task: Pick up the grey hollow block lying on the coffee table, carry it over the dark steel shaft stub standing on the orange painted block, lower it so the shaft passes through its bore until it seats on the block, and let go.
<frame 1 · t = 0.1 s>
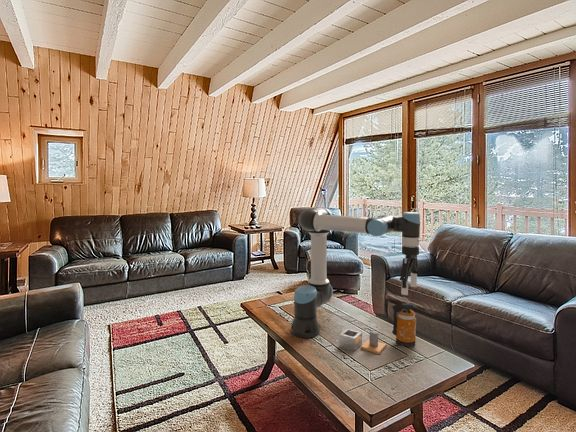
hand: (409, 290, 161), 28 cm above the table, fingers open, 13 cm apart
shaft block: (373, 347, 164), on the table
grey hollow block: (350, 345, 166), on the table
canister: (403, 343, 169), on the table
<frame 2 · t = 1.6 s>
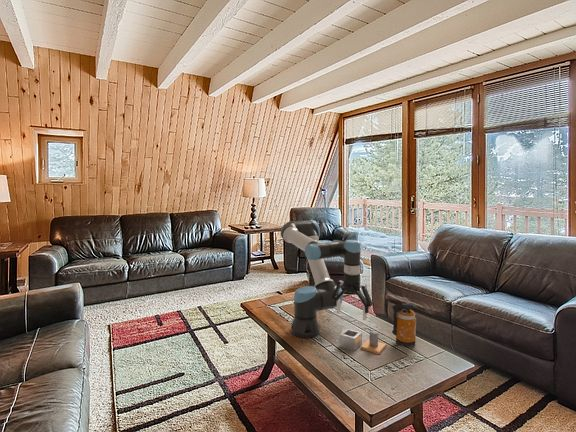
hand: (351, 316, 165), 15 cm above the table, fingers open, 13 cm apart
nothing on the table moved.
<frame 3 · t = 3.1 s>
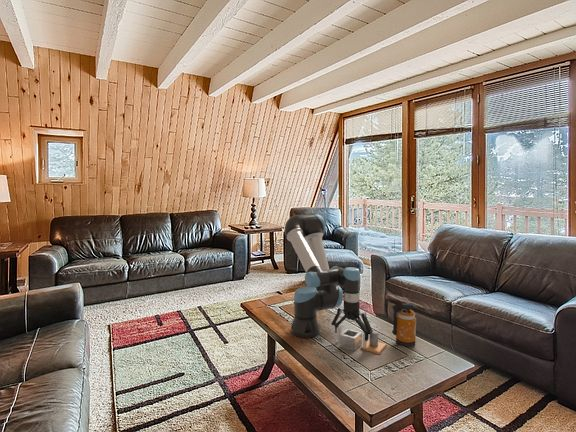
hand: (351, 343, 166), 1 cm above the table, fingers open, 13 cm apart
nothing on the table moved.
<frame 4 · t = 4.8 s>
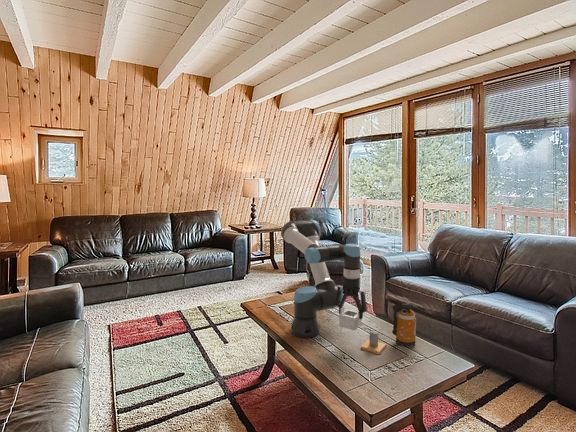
hand: (350, 322, 166), 11 cm above the table, fingers closed on grey hollow block, 8 cm apart
grey hollow block: (350, 325, 166), point 10 cm above the table, touching gripper
everything else where it was.
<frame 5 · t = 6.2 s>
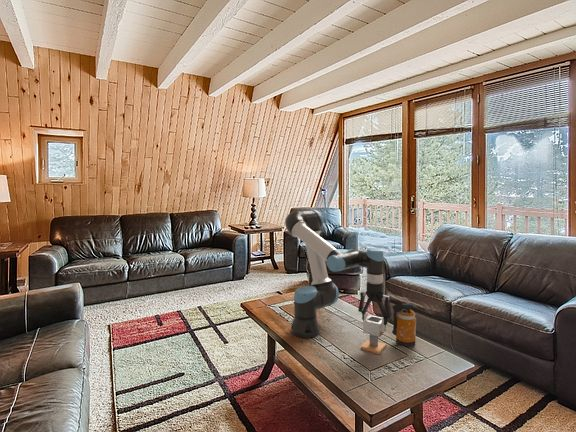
hand: (374, 328, 163), 9 cm above the table, fingers closed on grey hollow block, 8 cm apart
grey hollow block: (374, 331, 163), point 8 cm above the table, touching gripper
everything else where it was.
when the fingers open (3 cm above the table, at t = 7.8 s): grey hollow block stays where it is, resting on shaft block.
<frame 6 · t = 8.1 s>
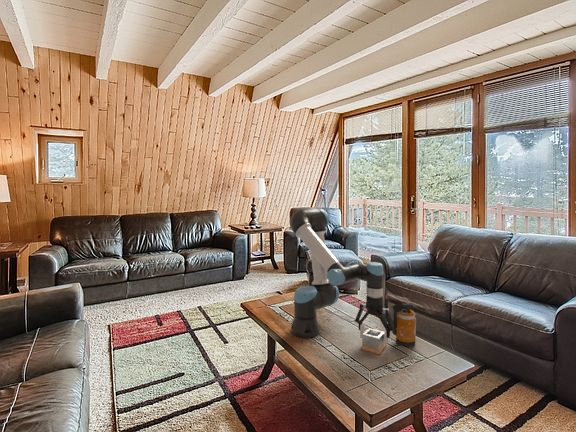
hand: (373, 340, 163), 4 cm above the table, fingers open, 11 cm apart
grey hollow block: (373, 345, 164), point 1 cm above the table, touching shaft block
everything else where it was.
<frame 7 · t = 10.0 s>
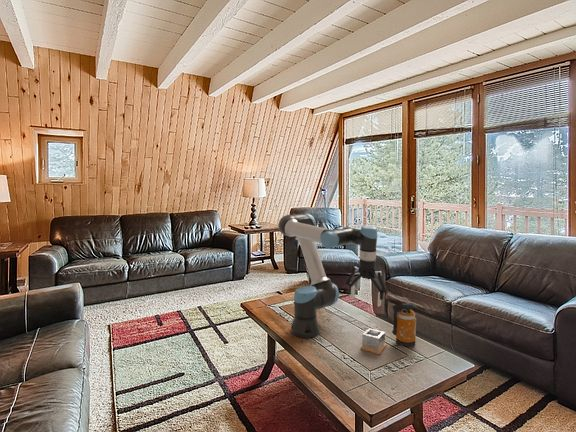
hand: (365, 302, 165), 21 cm above the table, fingers open, 13 cm apart
nothing on the table moved.
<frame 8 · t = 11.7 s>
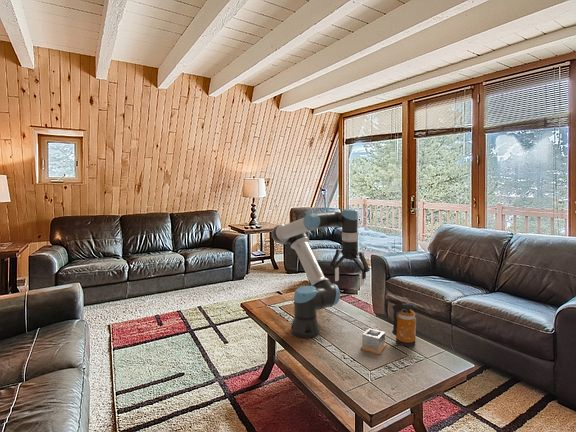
hand: (349, 283, 170), 29 cm above the table, fingers open, 13 cm apart
nothing on the table moved.
at the end: grey hollow block 0.1 cm off-centre on the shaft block, point 1.2 cm above the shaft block's base; grey hollow block tilted 0°; the gripper is holding nothing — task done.
